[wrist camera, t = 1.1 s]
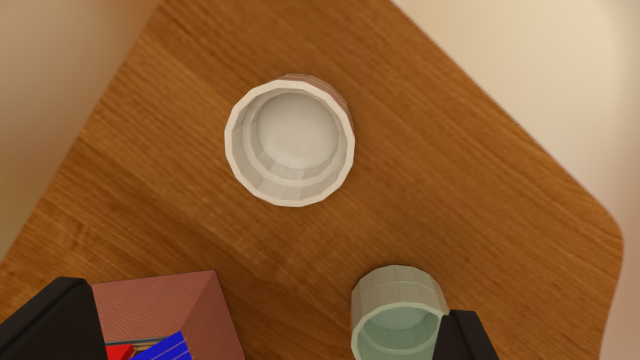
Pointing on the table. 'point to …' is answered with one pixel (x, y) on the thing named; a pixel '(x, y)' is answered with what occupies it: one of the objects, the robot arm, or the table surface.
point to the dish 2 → (396, 314)
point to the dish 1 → (291, 140)
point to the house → (167, 318)
